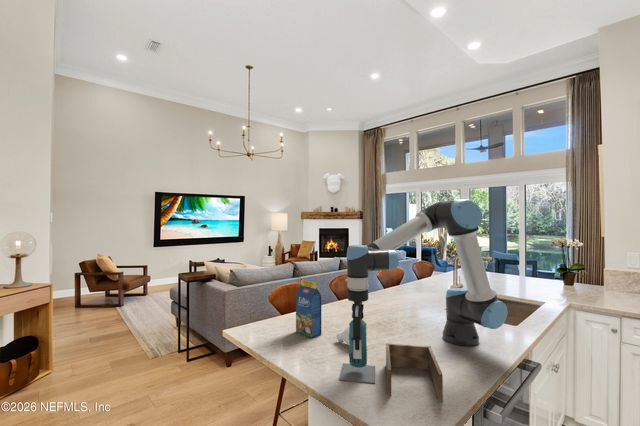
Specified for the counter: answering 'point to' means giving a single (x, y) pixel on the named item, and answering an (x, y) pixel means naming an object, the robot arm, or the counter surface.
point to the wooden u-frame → (414, 363)
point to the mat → (358, 374)
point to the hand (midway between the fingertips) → (358, 353)
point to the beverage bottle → (362, 361)
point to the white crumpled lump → (343, 336)
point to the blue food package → (308, 309)
